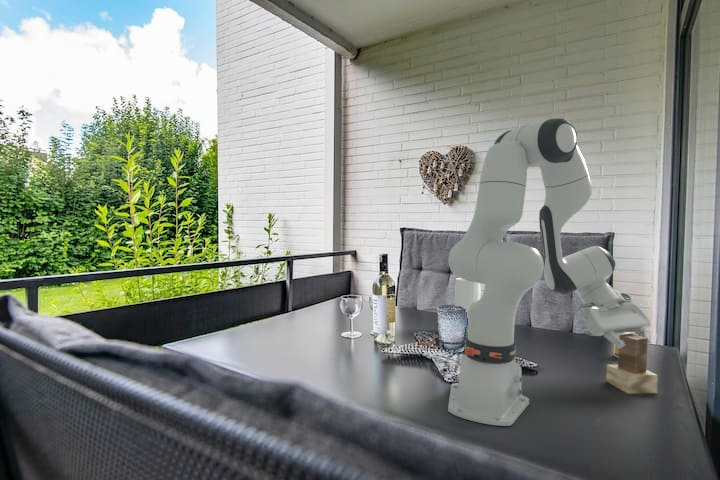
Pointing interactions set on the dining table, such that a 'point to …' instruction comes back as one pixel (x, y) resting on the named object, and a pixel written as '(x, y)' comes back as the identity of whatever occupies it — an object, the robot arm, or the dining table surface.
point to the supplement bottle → (616, 350)
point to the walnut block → (633, 353)
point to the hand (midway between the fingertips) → (635, 346)
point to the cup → (466, 293)
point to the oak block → (632, 380)
